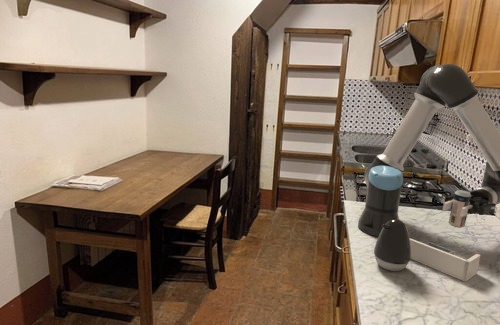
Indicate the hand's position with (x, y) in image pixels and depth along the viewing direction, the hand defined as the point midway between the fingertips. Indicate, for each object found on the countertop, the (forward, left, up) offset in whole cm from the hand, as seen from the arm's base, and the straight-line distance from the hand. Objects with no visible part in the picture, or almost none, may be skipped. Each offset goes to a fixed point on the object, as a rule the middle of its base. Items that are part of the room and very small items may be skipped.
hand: (453, 209), depth 115 cm
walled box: (-6, -6, -15) cm, 17 cm away
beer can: (+4, +4, -7) cm, 9 cm away
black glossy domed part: (-21, -14, -15) cm, 30 cm away
